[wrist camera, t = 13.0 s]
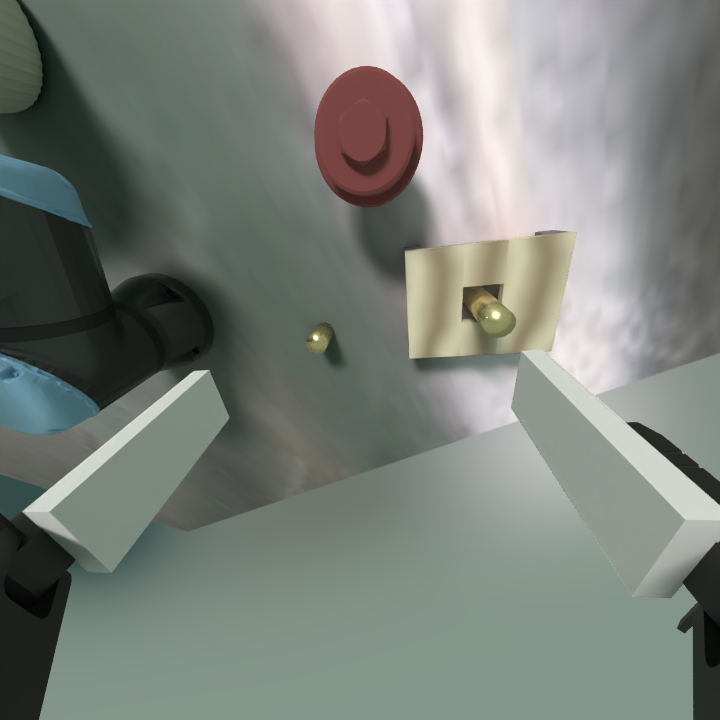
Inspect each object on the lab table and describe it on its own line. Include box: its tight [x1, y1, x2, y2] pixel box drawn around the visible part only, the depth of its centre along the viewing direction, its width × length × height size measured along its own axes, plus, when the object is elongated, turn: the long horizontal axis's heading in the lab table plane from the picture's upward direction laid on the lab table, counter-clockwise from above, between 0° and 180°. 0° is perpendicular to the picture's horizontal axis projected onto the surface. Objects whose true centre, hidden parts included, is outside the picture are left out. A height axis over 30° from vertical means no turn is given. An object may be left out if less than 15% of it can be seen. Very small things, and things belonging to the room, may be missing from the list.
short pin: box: [306, 322, 334, 354], centre depth 41 cm, size 3×3×5 cm
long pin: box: [462, 286, 516, 338], centre depth 33 cm, size 3×3×12 cm
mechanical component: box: [314, 66, 423, 207], centre depth 27 cm, size 12×10×10 cm
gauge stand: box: [404, 230, 577, 358], centre depth 36 cm, size 18×14×5 cm
